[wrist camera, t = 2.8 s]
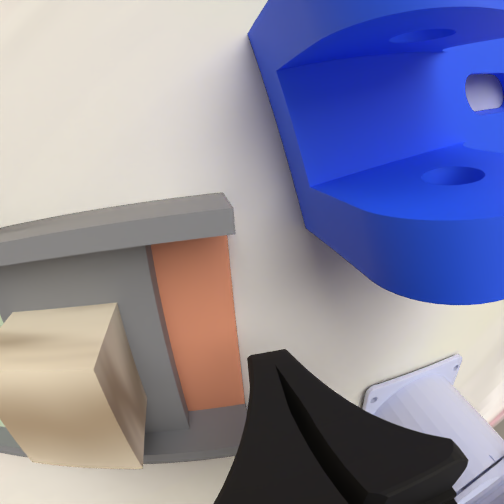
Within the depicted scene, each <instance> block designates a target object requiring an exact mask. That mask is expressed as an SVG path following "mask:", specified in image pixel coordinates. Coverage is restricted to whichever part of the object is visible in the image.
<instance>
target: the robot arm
mask: <svg viewBox="0 0 504 504" xmlns="http://www.w3.org/2000/svg"><path fill="white" fill-rule="evenodd" d="M247 360H248V371H249V381H250V396H249V404H248V410H247V416H246V421H245V426H244V430H243V433H242V437H241V441H240V444H239V447H238V450H237V453H236V456H235V459H234V462H233V464H232V467H231V469H230V471H229V474H228V476H227V478H226V480H225V483H224V485H223V487H222V489H221V491H220V493H219V495H218V497H217V498H216V500H215V502H214V504H504V440H503V439H502V438H501V437H500V436H499V434H498V433H497V432H496V431H495V430H494V429H493V428H492V427H491V426H490V425H489V423H488V422H487V421H486V420H485V419H484V418H483V417H482V416H481V415H480V414H479V413H478V412H477V410H476V409H475V408H474V407H473V406H472V405H471V404H470V403H469V402H468V401H467V400H466V399H465V398H464V397H463V396H462V395H461V394H460V393H459V391H458V390H457V389H456V388H455V387H454V386H453V383H454V381H455V378H456V376H457V373H458V370H459V367H460V365H461V362H462V357H461V356H460V355H459V354H456V355H454V356H452V357H449V358H447V359H445V360H442V361H440V362H437V363H435V364H432V365H430V366H427V367H425V368H422V369H419V370H417V371H414V372H411V373H409V374H406V375H403V376H400V377H397V378H394V379H392V380H389V381H386V382H383V383H380V384H376V385H373V386H371V387H370V388H369V389H368V390H367V391H366V394H365V398H364V403H363V407H362V409H361V408H359V407H358V406H356V405H354V404H353V403H351V402H349V401H348V400H346V399H345V398H343V397H342V396H340V395H339V394H337V393H336V392H335V391H333V390H332V389H330V388H329V387H328V386H326V385H325V384H324V383H323V382H321V381H320V380H319V379H318V378H317V377H315V376H314V375H313V374H312V373H311V372H309V371H308V370H307V369H306V368H305V367H304V366H303V365H302V364H301V363H300V362H298V361H297V360H296V359H295V358H294V357H293V356H292V355H291V354H290V353H289V352H288V351H287V350H286V349H283V350H278V351H272V352H267V353H261V354H255V355H250V356H249V357H248V358H247Z"/></svg>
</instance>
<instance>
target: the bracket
mask: <svg viewBox="0 0 504 504" xmlns="http://www.w3.org/2000/svg"><path fill="white" fill-rule="evenodd" d="M248 37H249V40H250V43H251V45H252V48H253V51H254V54H255V57H256V60H257V63H258V66H259V69H260V72H261V75H262V78H263V81H264V84H265V88H266V91H267V94H268V97H269V100H270V103H271V107H272V110H273V113H274V116H275V120H276V123H277V126H278V130H279V133H280V136H281V140H282V143H283V147H284V150H285V154H286V157H287V161H288V164H289V168H290V171H291V175H292V178H293V182H294V186H295V189H296V193H297V197H298V201H299V204H300V208H301V212H302V216H303V220H304V224H305V227H306V229H308V230H309V231H310V232H311V233H313V234H314V235H315V236H317V237H318V238H319V239H320V240H322V241H323V242H324V243H325V244H327V245H328V246H329V247H330V248H332V249H333V250H334V251H336V252H337V253H338V254H339V255H341V256H342V257H343V258H344V259H345V260H347V261H348V262H349V263H350V264H352V265H353V266H354V267H355V268H357V269H358V270H359V271H360V272H361V273H363V274H364V275H365V276H366V277H368V278H369V279H370V280H371V281H373V282H374V283H376V284H377V285H379V286H380V287H382V288H384V289H386V290H388V291H390V292H393V293H395V294H397V295H400V296H403V297H406V298H410V299H414V300H418V301H422V302H429V303H435V304H446V305H473V304H483V303H489V302H495V301H499V300H503V299H504V100H503V104H502V105H501V107H499V108H494V109H488V110H481V111H475V112H474V111H473V110H472V109H471V107H470V105H469V103H468V101H467V98H466V93H465V83H466V79H467V77H468V76H469V75H475V74H493V75H495V76H496V77H497V78H498V80H499V81H500V83H501V85H502V88H503V93H504V0H268V2H267V3H266V5H265V6H264V8H263V10H262V11H261V13H260V14H259V16H258V18H257V19H256V21H255V22H254V24H253V26H252V27H251V29H250V31H249V32H248Z"/></svg>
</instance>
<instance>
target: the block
mask: <svg viewBox="0 0 504 504" xmlns="http://www.w3.org/2000/svg"><path fill="white" fill-rule="evenodd" d="M146 407H147V396H146V393H145V391H144V388H143V385H142V382H141V379H140V377H139V374H138V371H137V368H136V365H135V362H134V359H133V356H132V352H131V349H130V346H129V343H128V340H127V336H126V333H125V329H124V326H123V323H122V319H121V315H120V312H119V308H118V304H117V303H107V304H98V305H88V306H78V307H67V308H57V309H45V310H34V311H22V312H12V314H11V315H10V316H9V317H8V319H7V320H6V321H5V322H4V324H3V325H2V326H1V327H0V420H1V421H2V423H3V424H4V425H5V427H6V428H7V430H8V431H9V433H10V434H11V435H12V437H13V438H14V439H15V441H16V442H17V443H18V445H19V446H20V447H21V449H22V450H23V451H24V452H25V454H26V455H27V456H28V457H29V459H30V460H31V461H32V462H35V463H42V464H50V465H59V466H69V467H82V468H101V469H143V455H144V436H145V421H146Z"/></svg>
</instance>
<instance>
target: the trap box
mask: <svg viewBox="0 0 504 504" xmlns="http://www.w3.org/2000/svg"><path fill="white" fill-rule="evenodd" d="M232 234H235V225H234V212H233V207H232V206H231V204H230V203H229V201H228V200H227V198H226V197H225V195H224V194H223V193H214V194H205V195H196V196H188V197H180V198H172V199H164V200H157V201H150V202H142V203H135V204H129V205H122V206H116V207H109V208H103V209H97V210H91V211H85V212H79V213H73V214H68V215H62V216H57V217H51V218H46V219H41V220H36V221H31V222H26V223H21V224H16V225H11V226H7V227H2V228H0V327H1V326H2V325H3V324H4V322H5V321H6V320H7V319H8V317H9V316H10V315H11V314H12V312H22V311H34V310H45V309H57V308H67V307H78V306H88V305H98V304H107V303H117V304H118V308H119V312H120V315H121V319H122V323H123V326H124V329H125V333H126V336H127V340H128V343H129V346H130V349H131V352H132V356H133V359H134V362H135V365H136V368H137V371H138V374H139V377H140V379H141V382H142V385H143V388H144V391H145V393H146V396H147V407H146V421H145V436H144V455H143V464H157V463H174V462H187V461H197V460H207V459H215V458H223V457H230V456H236V453H237V450H238V447H239V444H240V441H241V437H242V433H243V430H244V426H245V421H246V416H247V410H246V406H245V400H244V392H243V383H242V374H241V366H240V357H239V348H238V339H237V330H236V320H235V311H234V301H233V291H232V281H231V271H230V261H229V250H228V240H227V235H232ZM0 453H5V454H11V455H17V456H23V457H28V456H27V455H26V454H25V452H24V451H23V450H22V449H21V447H20V446H19V445H18V443H17V442H16V441H15V439H14V438H13V437H12V435H11V434H10V433H9V431H8V430H7V428H6V427H5V425H4V424H3V423H2V421H1V420H0Z"/></svg>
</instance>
